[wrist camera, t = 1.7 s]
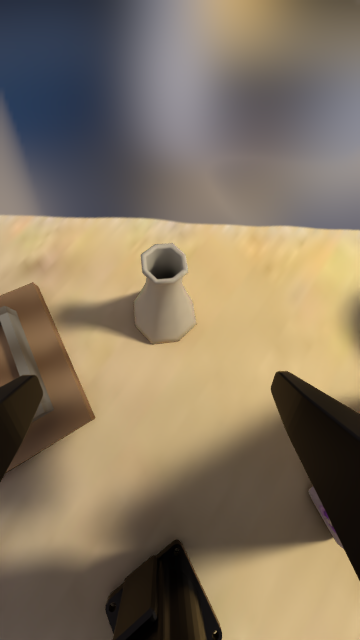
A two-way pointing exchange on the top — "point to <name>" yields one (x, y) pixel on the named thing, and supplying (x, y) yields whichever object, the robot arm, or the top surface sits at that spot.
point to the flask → (164, 296)
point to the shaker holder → (40, 369)
